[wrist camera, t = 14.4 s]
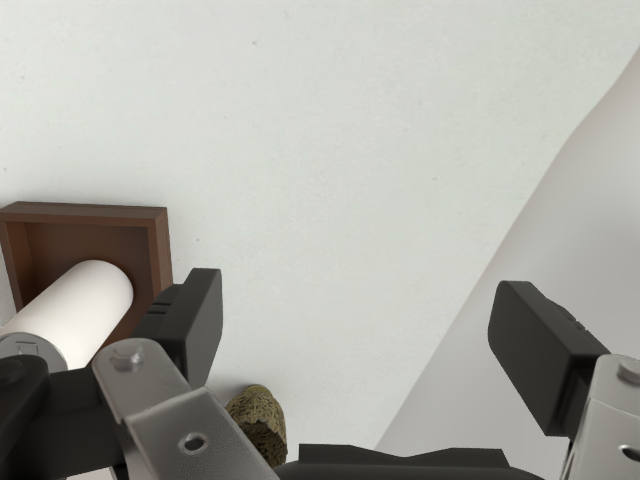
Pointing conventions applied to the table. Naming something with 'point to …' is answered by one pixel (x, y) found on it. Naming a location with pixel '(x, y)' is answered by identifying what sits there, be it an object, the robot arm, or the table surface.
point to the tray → (86, 250)
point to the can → (70, 317)
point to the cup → (261, 422)
